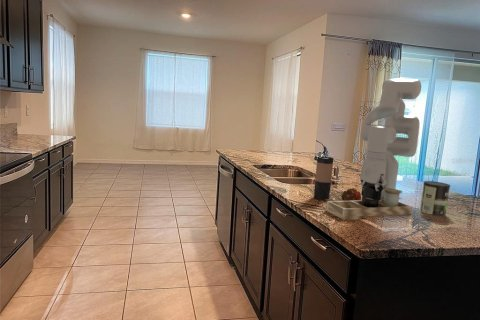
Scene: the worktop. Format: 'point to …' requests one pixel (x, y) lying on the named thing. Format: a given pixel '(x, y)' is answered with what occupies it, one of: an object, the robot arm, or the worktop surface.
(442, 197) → the coffee can
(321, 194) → the travel mug
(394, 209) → the rack
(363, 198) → the supplement bottle
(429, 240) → the worktop surface
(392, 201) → the canister
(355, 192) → the dragon fruit
